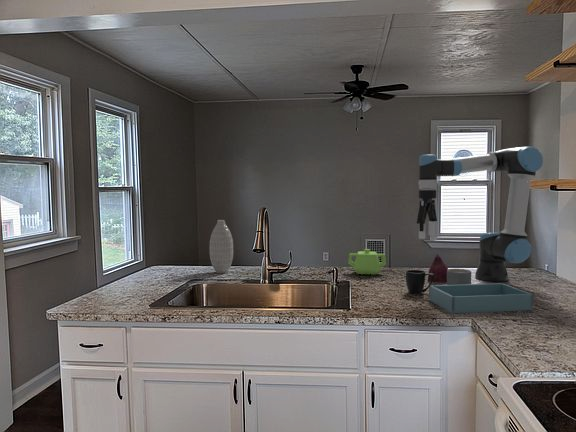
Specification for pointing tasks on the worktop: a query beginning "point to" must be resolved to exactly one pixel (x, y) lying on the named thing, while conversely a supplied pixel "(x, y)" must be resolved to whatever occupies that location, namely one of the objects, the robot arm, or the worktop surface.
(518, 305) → the tote
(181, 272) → the worktop surface
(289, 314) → the worktop surface
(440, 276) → the vegetable
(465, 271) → the coffee mug
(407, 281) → the mug
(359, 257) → the green rounded pot
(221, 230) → the vase
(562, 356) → the worktop surface
